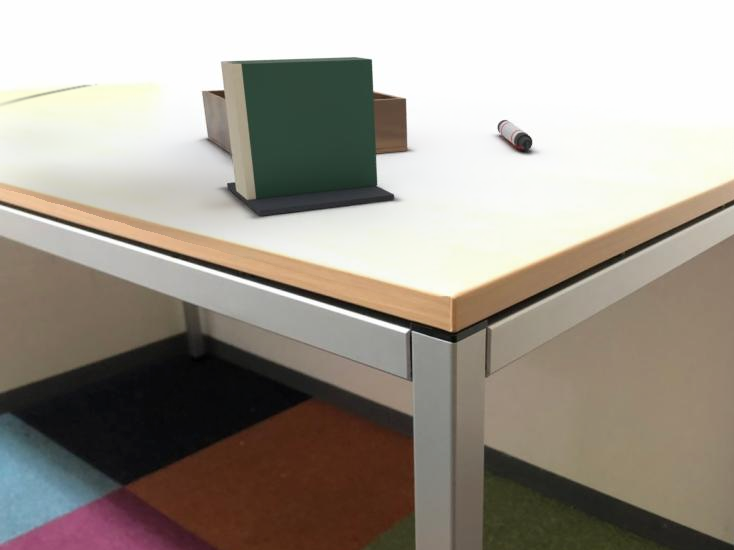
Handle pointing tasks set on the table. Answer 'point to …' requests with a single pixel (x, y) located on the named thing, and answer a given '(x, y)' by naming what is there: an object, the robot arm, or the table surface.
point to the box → (386, 115)
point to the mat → (314, 199)
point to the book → (300, 125)
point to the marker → (515, 135)
